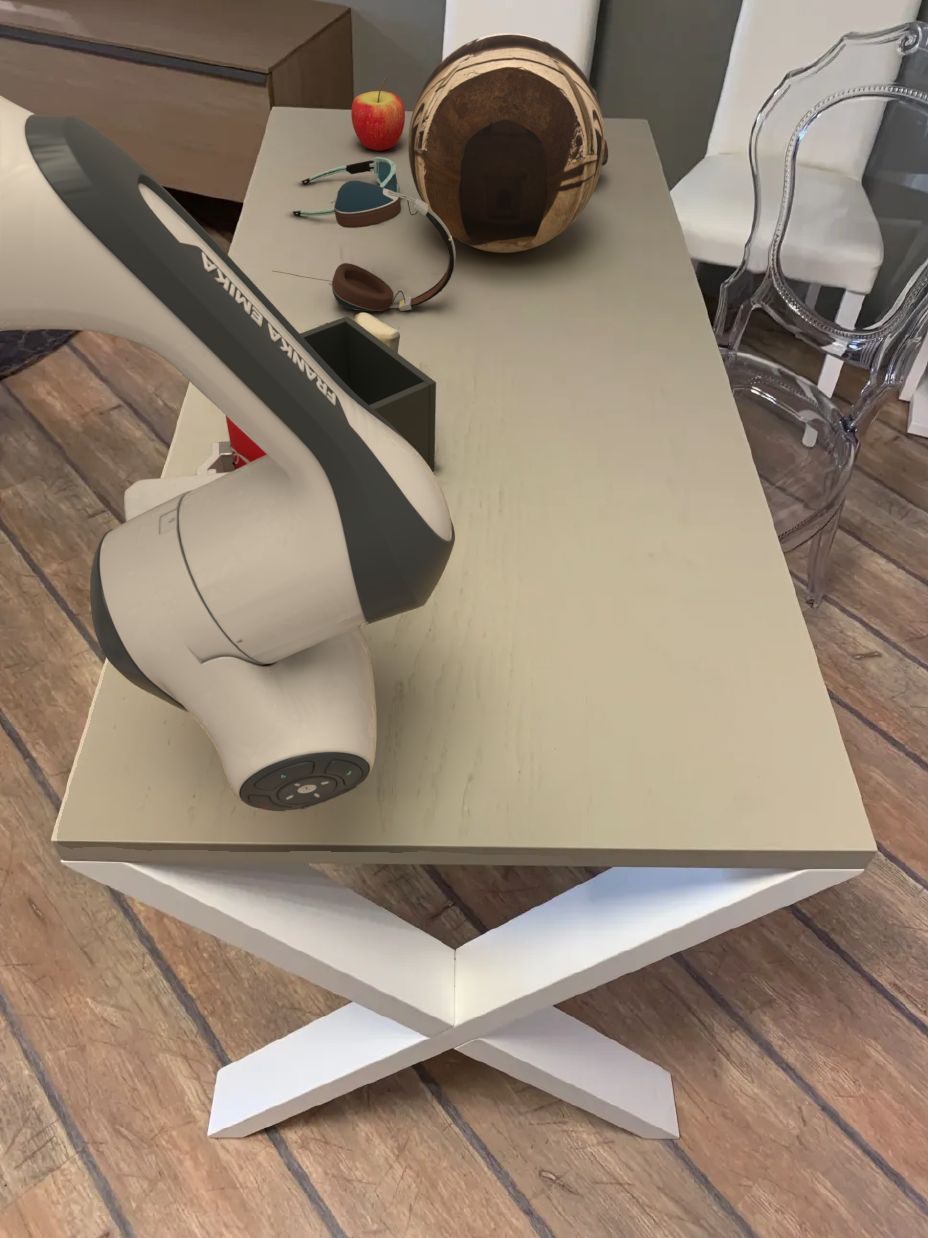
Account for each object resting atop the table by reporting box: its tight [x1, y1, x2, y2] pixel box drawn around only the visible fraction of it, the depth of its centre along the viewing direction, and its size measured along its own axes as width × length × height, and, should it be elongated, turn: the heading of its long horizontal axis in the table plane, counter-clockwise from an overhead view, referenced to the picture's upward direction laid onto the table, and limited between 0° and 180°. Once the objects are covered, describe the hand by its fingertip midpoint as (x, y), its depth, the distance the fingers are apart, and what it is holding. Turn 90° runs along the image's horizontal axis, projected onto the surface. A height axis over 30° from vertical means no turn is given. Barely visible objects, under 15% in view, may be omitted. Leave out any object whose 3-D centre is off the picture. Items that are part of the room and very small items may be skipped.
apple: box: [350, 76, 406, 152], centre depth 146 cm, size 8×8×10 cm
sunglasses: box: [292, 156, 400, 217], centre depth 135 cm, size 14×15×5 cm
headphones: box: [273, 180, 456, 312], centre depth 112 cm, size 6×15×22 cm
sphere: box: [407, 32, 606, 254], centre depth 121 cm, size 25×25×25 cm
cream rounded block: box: [353, 312, 401, 354], centre depth 103 cm, size 6×5×8 cm
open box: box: [299, 315, 437, 472], centre depth 93 cm, size 15×15×11 cm
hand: (274, 444), depth 69 cm, fingers closed on beverage can, 6 cm apart
